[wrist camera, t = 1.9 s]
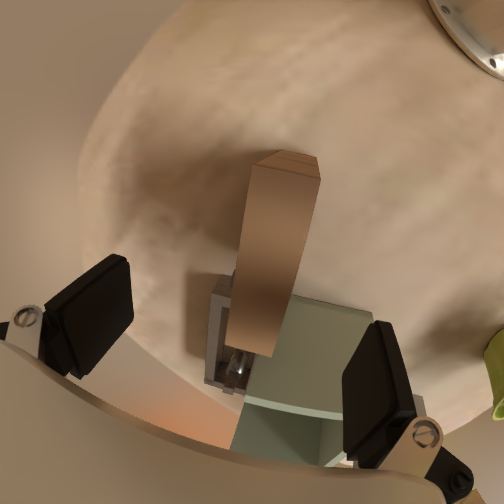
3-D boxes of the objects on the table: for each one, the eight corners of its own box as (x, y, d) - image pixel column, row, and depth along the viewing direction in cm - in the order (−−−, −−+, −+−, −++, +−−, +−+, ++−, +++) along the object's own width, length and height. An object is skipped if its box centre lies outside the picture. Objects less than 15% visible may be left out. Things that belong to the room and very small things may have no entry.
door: (270, 147, 18) (229, 160, 10) (316, 157, 18) (320, 180, 9) (250, 257, 22) (209, 339, 14) (290, 267, 22) (271, 357, 13)
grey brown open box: (222, 273, 24) (165, 364, 14) (284, 288, 23) (260, 394, 13) (212, 364, 29) (177, 442, 19) (258, 377, 29) (234, 460, 19)
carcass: (275, 290, 23) (245, 394, 13) (371, 312, 22) (390, 417, 12) (252, 374, 29) (226, 457, 19) (327, 390, 27) (321, 474, 18)
